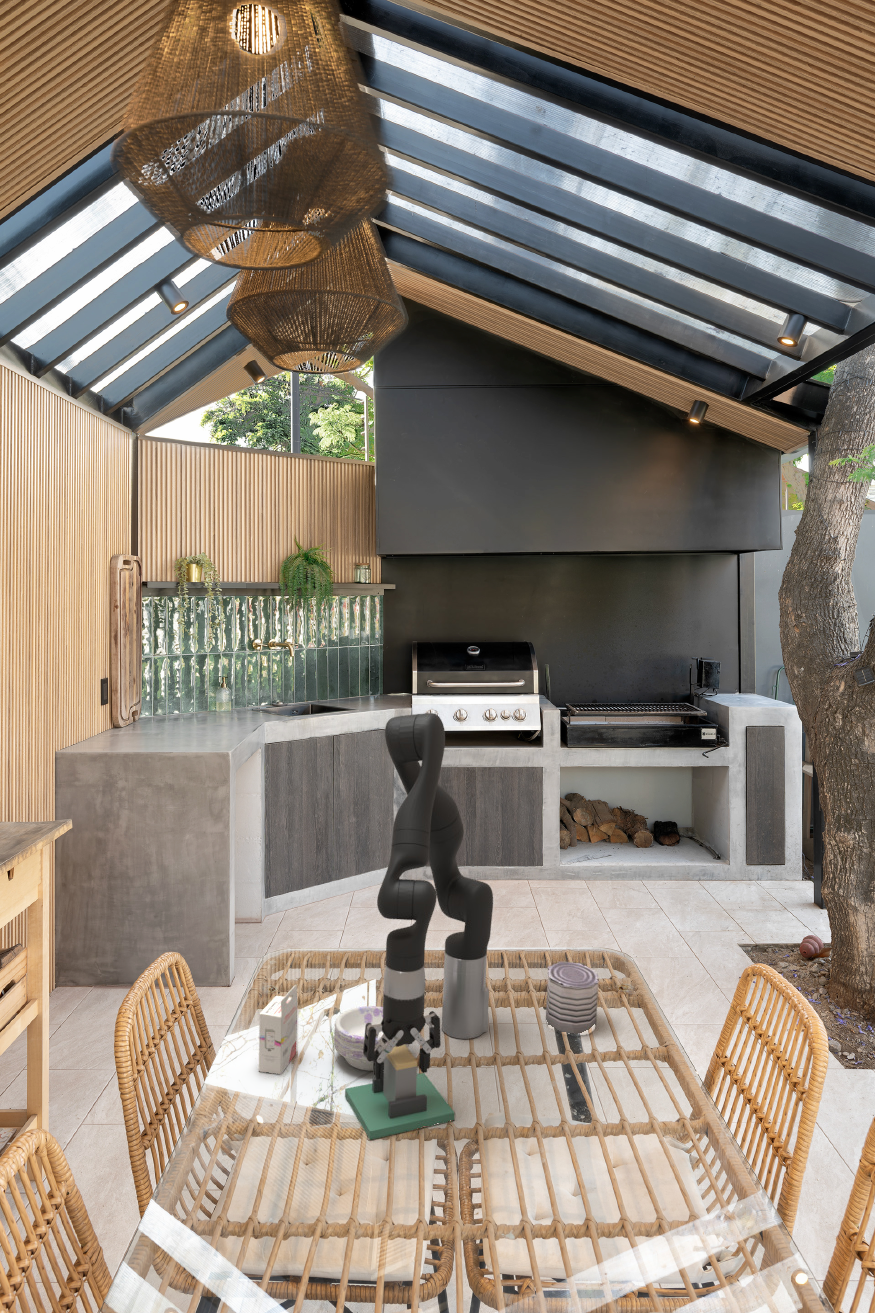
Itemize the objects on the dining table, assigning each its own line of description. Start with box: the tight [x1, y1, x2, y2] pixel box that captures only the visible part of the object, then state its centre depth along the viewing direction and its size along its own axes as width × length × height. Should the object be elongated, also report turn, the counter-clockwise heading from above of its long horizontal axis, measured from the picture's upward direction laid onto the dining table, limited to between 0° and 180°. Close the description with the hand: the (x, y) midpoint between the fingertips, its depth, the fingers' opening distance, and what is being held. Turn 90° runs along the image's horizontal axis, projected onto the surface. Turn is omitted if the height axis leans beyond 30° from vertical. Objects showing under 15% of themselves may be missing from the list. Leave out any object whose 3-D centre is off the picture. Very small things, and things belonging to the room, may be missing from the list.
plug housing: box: [383, 1045, 418, 1102], centre depth 154 cm, size 4×6×8 cm, turn 24°
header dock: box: [344, 1072, 455, 1141], centre depth 155 cm, size 16×14×4 cm
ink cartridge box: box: [258, 984, 299, 1075], centre depth 168 cm, size 9×5×15 cm, turn 168°
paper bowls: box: [333, 1005, 410, 1072], centre depth 171 cm, size 15×15×8 cm
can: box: [545, 960, 600, 1034], centre depth 189 cm, size 11×11×12 cm
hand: (401, 1075), depth 154 cm, fingers open, 8 cm apart
